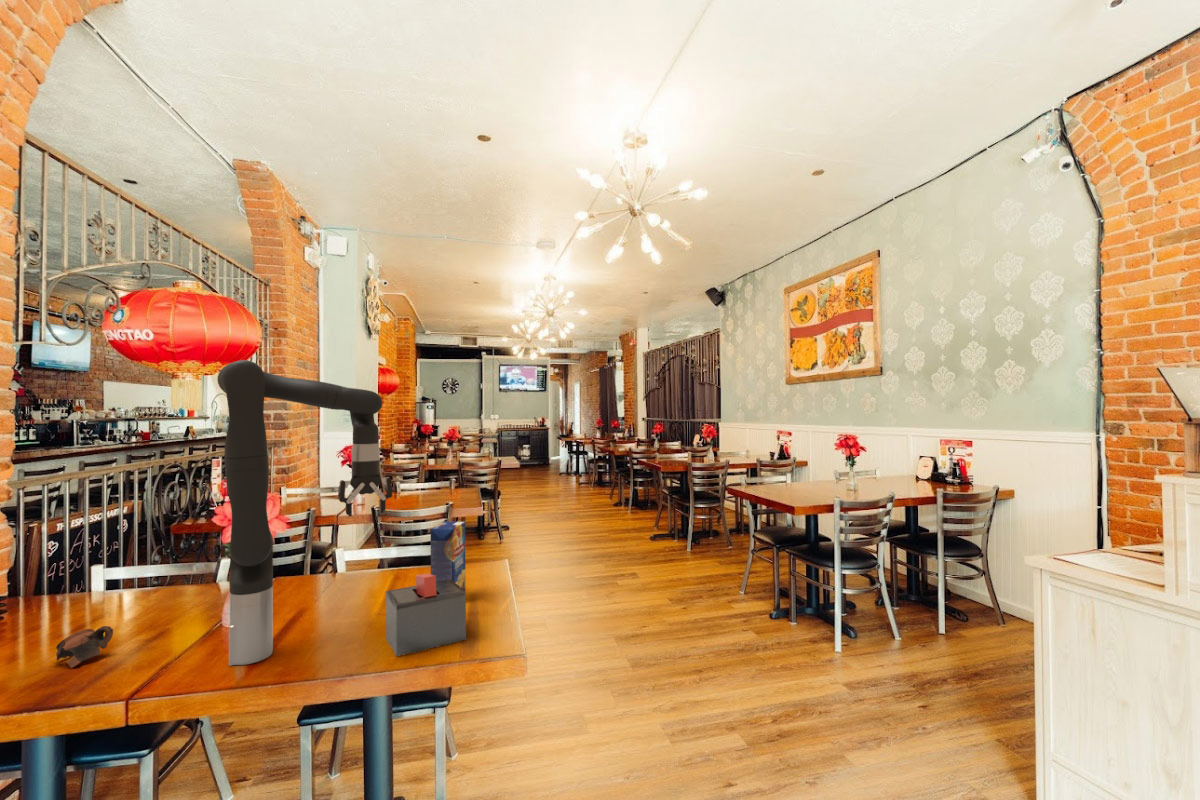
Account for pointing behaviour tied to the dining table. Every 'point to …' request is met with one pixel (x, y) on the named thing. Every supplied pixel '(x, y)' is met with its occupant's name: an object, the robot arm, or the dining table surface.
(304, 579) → the dining table surface
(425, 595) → the red rectangular block
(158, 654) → the dining table surface
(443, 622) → the grey slotted box
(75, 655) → the brown curved piece
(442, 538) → the blue tall cardboard box
